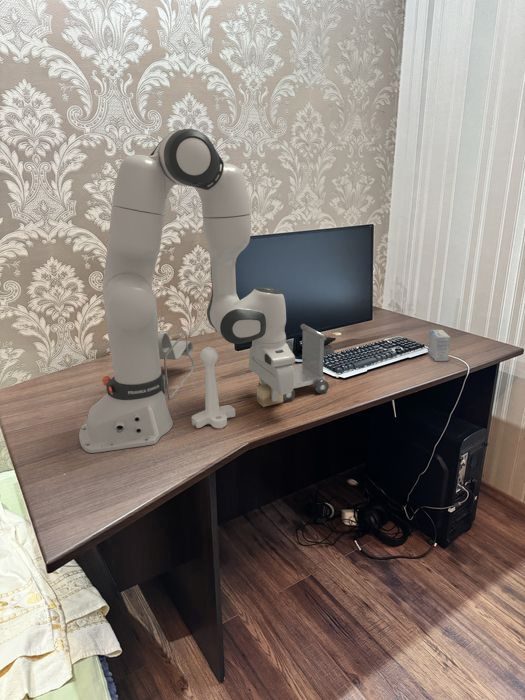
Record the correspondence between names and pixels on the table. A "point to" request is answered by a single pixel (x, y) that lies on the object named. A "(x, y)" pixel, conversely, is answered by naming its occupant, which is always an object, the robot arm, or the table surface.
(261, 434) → the table surface
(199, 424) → the joystick
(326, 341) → the microphone
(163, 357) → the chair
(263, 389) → the chock
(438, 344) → the medicine box
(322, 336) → the cart
